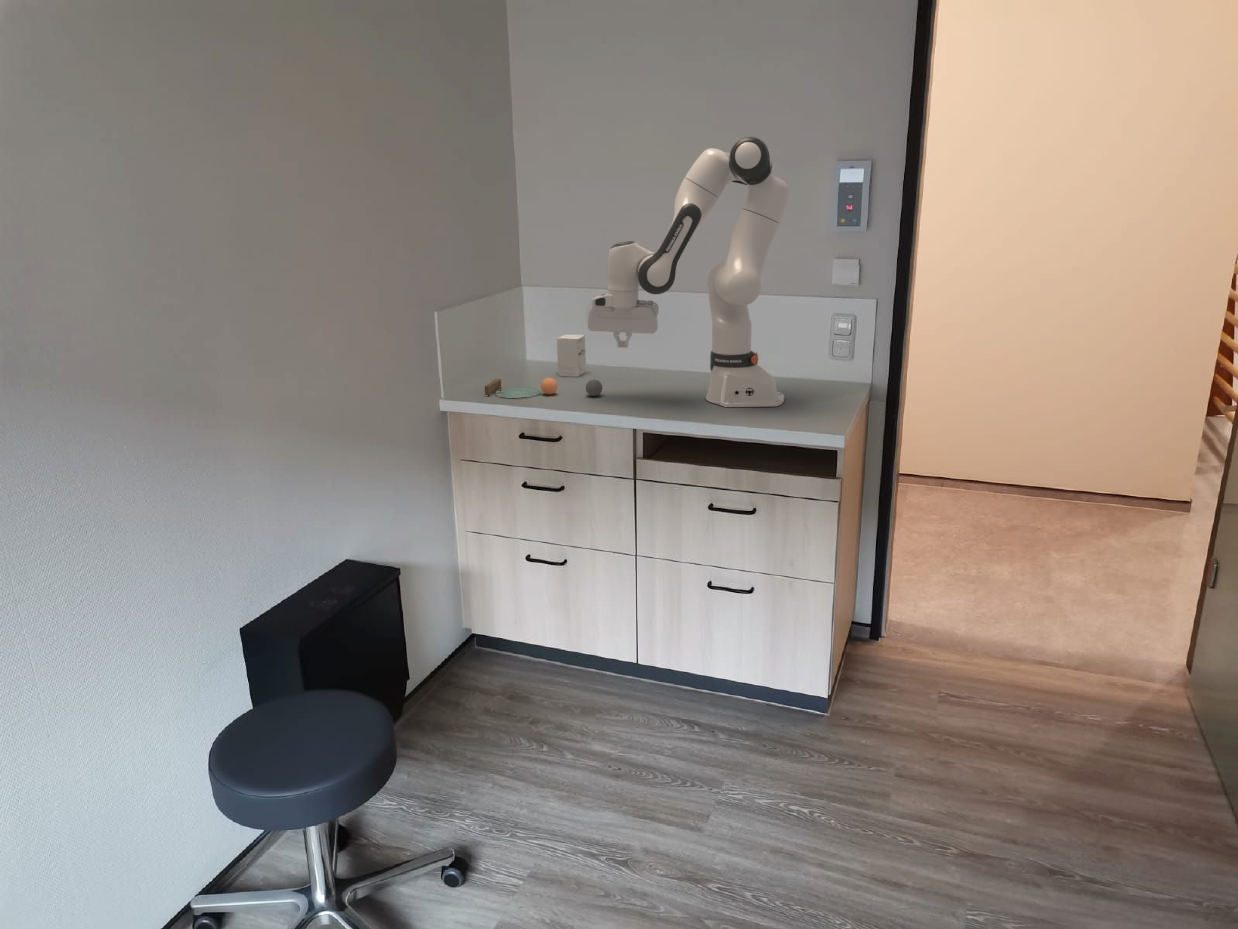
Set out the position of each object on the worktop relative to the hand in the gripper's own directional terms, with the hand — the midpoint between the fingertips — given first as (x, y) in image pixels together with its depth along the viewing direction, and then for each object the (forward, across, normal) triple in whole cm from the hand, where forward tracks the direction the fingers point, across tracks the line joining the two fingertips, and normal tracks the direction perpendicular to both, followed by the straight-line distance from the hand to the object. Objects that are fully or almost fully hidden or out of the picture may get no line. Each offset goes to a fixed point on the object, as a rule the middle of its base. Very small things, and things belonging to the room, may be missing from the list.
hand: (622, 347), depth 267 cm
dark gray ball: (+13, +9, 0) cm, 15 cm away
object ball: (+13, +23, 0) cm, 26 cm away
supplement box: (+15, +23, -27) cm, 39 cm away
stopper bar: (+16, +41, 0) cm, 44 cm away
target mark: (+16, +33, 0) cm, 36 cm away
